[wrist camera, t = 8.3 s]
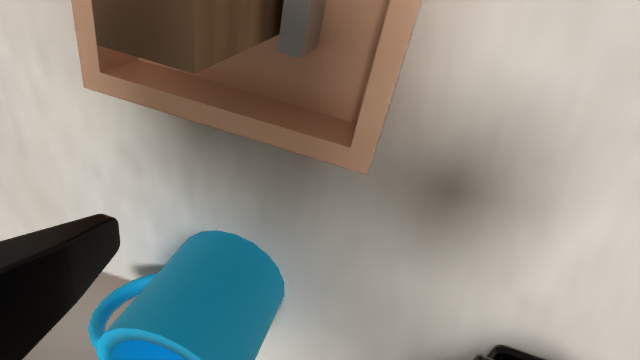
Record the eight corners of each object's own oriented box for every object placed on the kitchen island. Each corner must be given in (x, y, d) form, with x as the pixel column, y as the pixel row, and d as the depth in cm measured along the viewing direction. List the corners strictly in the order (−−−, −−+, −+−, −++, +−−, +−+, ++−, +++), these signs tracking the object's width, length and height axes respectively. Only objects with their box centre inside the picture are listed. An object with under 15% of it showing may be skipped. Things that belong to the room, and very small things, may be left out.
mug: (274, 234, 24) (210, 340, 18) (292, 323, 28) (246, 439, 21) (121, 223, 28) (18, 309, 21) (156, 304, 32) (79, 399, 25)
